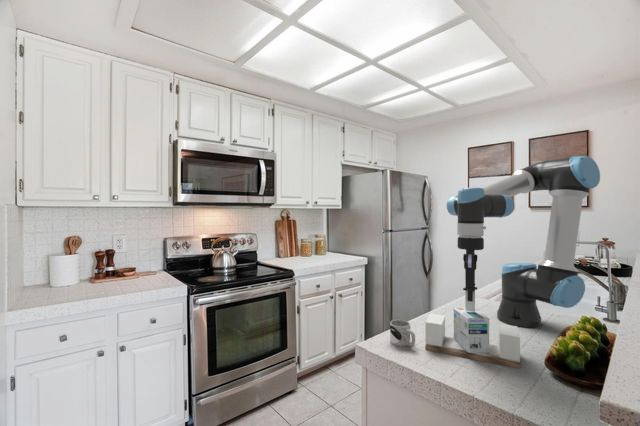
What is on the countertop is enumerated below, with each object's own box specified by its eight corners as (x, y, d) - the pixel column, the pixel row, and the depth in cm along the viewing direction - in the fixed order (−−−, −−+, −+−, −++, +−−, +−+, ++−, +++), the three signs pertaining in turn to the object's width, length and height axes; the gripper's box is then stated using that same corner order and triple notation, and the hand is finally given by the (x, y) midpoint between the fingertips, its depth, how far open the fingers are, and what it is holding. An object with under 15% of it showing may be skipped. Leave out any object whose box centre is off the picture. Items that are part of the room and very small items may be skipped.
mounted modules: (517, 348, 97) (517, 326, 97) (519, 361, 89) (520, 337, 89) (429, 333, 109) (429, 313, 109) (425, 343, 101) (425, 322, 101)
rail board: (516, 353, 97) (516, 347, 97) (520, 368, 89) (520, 362, 89) (430, 337, 110) (430, 332, 110) (425, 349, 101) (425, 343, 101)
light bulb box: (490, 353, 94) (490, 318, 94) (468, 353, 94) (468, 318, 94) (472, 338, 105) (472, 306, 104) (452, 338, 105) (452, 306, 104)
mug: (386, 340, 108) (386, 321, 108) (400, 336, 111) (400, 318, 111) (406, 352, 99) (406, 332, 99) (422, 348, 102) (421, 328, 102)
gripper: (483, 239, 91) (483, 319, 91) (483, 235, 102) (483, 306, 103) (455, 238, 94) (455, 314, 95) (459, 234, 106) (458, 303, 106)
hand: (470, 310), depth 99 cm, fingers closed
